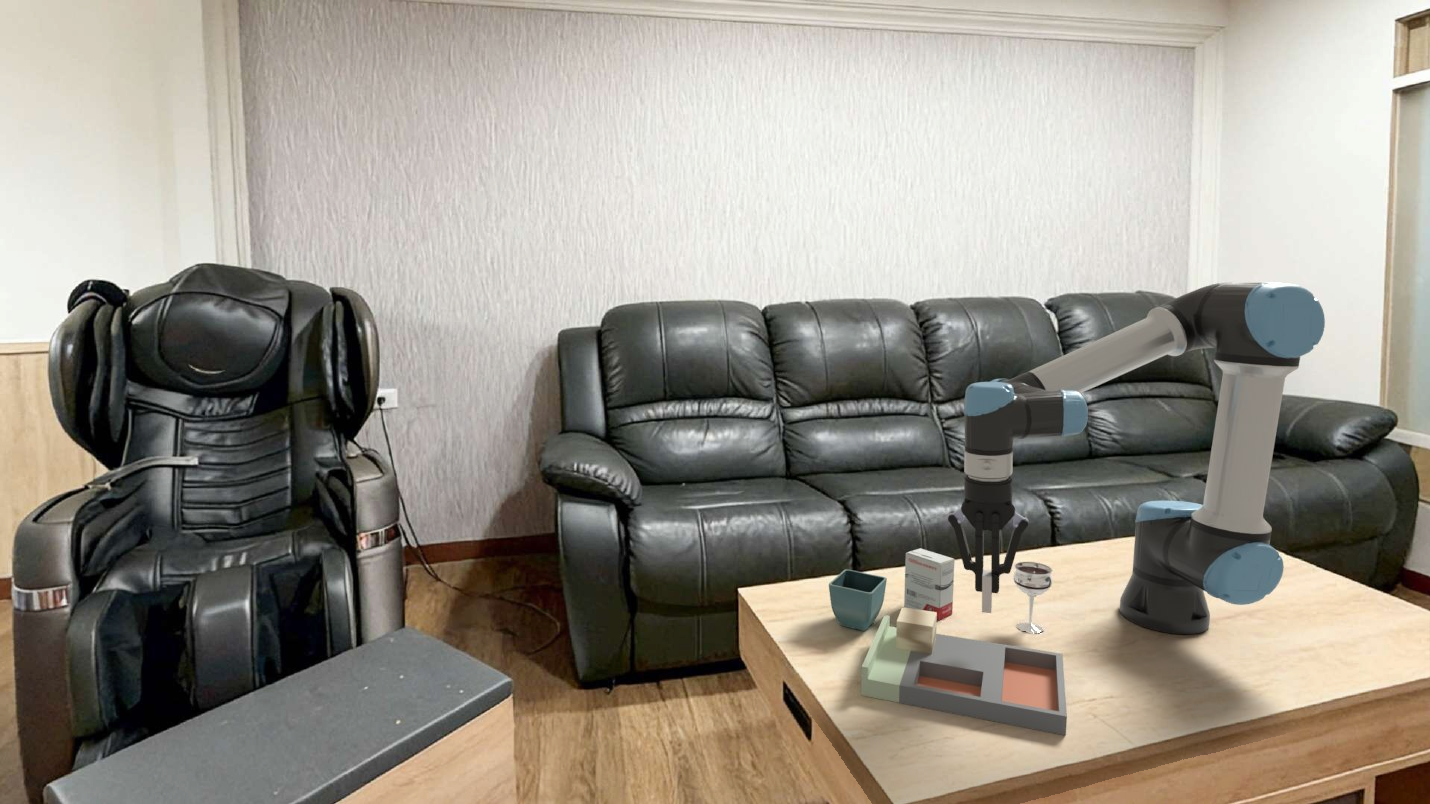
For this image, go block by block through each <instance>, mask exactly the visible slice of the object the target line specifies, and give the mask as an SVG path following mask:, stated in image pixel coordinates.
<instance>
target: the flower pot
mask: <svg viewBox="0 0 1430 804" xmlns="http://www.w3.org/2000/svg"><path fill="white" fill-rule="evenodd" d="M887 579H888V578H887V577H886V576H881V575H877V574H876V575H875V574H871V573H867V572H865V573H864V572H861V571H858V570H852V569H844V570H843V571H841V572H840V573H839V574H838V575H837V576H836V577H835V578H834V579H833V580H831V581H830V582H829V583H828V589H829V590H828V591H829V597H830V599H829V600H830V605H831V609H832V613H833V615H834V617H835V619H836V620H837V622H838V624H840V626H842V627H846V628H850V629H854V630H859V631H862V632H863V631H865V632H866V631H867V630H868V629H869V627H870V626H871V625H872V624H873V623H874V621H875V620H876V619H877V617H878V616H879V614H880V612H881V609H882V607H883V604H884V600H885V594H886V587H887Z"/></svg>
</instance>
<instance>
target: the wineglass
mask: <svg viewBox="0 0 1430 804" xmlns="http://www.w3.org/2000/svg"><path fill="white" fill-rule="evenodd" d="M1013 567H1014V569H1015V571H1014V573H1013V581H1014V584H1015V586H1016V587H1017V588H1018V590H1020V592H1022V593H1024V594H1026V595H1027V597H1028V598H1029V603H1028V604H1029V607H1028V608H1029V610H1028V611H1029V614H1028V621H1022V623H1021V622H1018V623H1019V624H1018V623H1017V624H1016V625H1015V628H1016V629H1017V628H1019V629H1020V630H1019V629H1018V630H1019V631H1020V632H1022V631H1026V632H1029V633H1030V635H1031V634H1032V635H1039V634H1038V633H1040V632H1041V631H1044V632H1045V629H1044V630H1043V629H1042V628H1044V627H1043V626H1042V627H1041V625H1040V626H1039V623H1038V624H1037V623H1034V622H1032V620H1033V611H1034V600H1035V598H1036V597H1037V596H1042V595H1044V594H1045V593H1046V592H1048V591H1049V590H1050V588H1051V587H1052V584H1053V578H1052V573H1053V569H1052V567H1050V565H1046V564H1043V563H1040V562H1035V561H1020V562H1017V563H1015V564H1014V566H1013ZM1016 626H1017V627H1016ZM1029 633H1028V634H1029ZM1035 633H1037V634H1035ZM1040 634H1041V633H1040Z"/></svg>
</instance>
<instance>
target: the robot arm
mask: <svg viewBox="0 0 1430 804" xmlns="http://www.w3.org/2000/svg"><path fill="white" fill-rule="evenodd" d="M1325 323H1326V320H1325V313H1324V310H1323V306H1322V305H1321V303H1320V301H1319V300H1318V299H1317V298H1315V296H1314V294H1313V293H1312V292H1311V291H1309V290H1308V289H1306V288H1305V287H1303V286H1301V285H1298V284H1292V283H1283V282H1277V281H1269V282H1268V281H1267V282H1266V281H1265V282H1218V283H1214V284H1210V285H1205V286H1203V287H1200V288H1198V289H1195V290H1193V291H1190V292H1187V293H1185V294H1182V295H1181V296H1180V295H1179V297H1176V298H1173V299H1172V300H1170V301H1169V300H1168V301H1167V302H1165V303H1163V304H1161V305H1159V306H1156V307H1154V308H1152V309H1150V310H1149V312H1148V313H1147V315H1146V317H1145V318H1143V319H1142V320H1141V319H1140V320H1138V321H1137V322H1134V323H1132V324H1130V325H1128V326H1125V327H1123V328H1121V329H1119V330H1117V331H1115V332H1112V333H1110V334H1108V335H1106V336H1104V337H1102V338H1099V339H1097V340H1095V341H1092V342H1091V343H1088V344H1086V345H1083V346H1082V347H1080V348H1078V349H1075V350H1073V351H1071V352H1068V353H1066V354H1064V355H1061V356H1060V357H1057V358H1056V359H1055V358H1054V359H1053V360H1051V361H1048V362H1047V363H1044V364H1042V365H1040V366H1037V367H1035V368H1033V369H1031V370H1029V371H1027V372H1024V373H1021V374H1018V375H1017V376H1014V377H1013V378H995V379H992V380H990V381H979V382H974V383H971V384H969V385H968V386H967V387H966V389H965V395H964V405H963V408H964V409H963V415H964V416H963V418H964V419H963V421H964V452H963V453H964V459H963V460H964V461H963V462H964V463H963V466H964V467H963V468H964V469H963V470H964V471H963V472H964V473H965V474H966V475H965V477H964V478H963V479H964V482H963V487H964V488H963V490H964V491H963V496H964V497H963V498H964V499H963V502H962V503H961V506H960V508H959V509H957V510H955V511H953V510H952V511H950V512H949V514H948V517H947V520H948V522H949V523H950V525H951V527H952V528H953V530H954V534H955V538H956V541H957V546H958V550H959V553H960V557H961V560H962V565H963V569H965V570H966V571H970V572H973V573H974V575H975V577H974V582H975V583H974V589H975V591H976V592H979V593H980V592H981V612H982V613H987V614H992V610H993V594H999V591H1000V576H1001V575H1004V574H1007V575H1008V574H1011V570H1012V569H1013V568H1012V567H1013V564H1014V561H1015V557H1016V553H1017V551H1018V547H1019V544H1020V540H1021V536H1022V534H1023V533H1024V532H1025V530H1026V529H1027V528H1028V527H1029V517H1028V516H1026V515H1021V514H1020V513H1018V512H1017V511H1016V507H1015V506H1014V503H1013V479H1012V478H1011V476H1012V474H1013V461H1014V460H1013V459H1014V458H1013V456H1014V452H1013V451H1014V440H1024V439H1037V438H1038V439H1039V438H1040V439H1041V438H1054V437H1055V438H1057V437H1060V438H1064V437H1067V436H1073V435H1079V434H1080V433H1082V432H1083V431H1084V430H1085V428H1087V427H1086V426H1087V424H1088V419H1089V416H1088V415H1089V409H1088V405H1087V400H1086V399H1085V397H1084V396H1083V395H1082V393H1084V392H1087V391H1088V390H1089V391H1090V390H1091V389H1093V388H1095V387H1098V386H1100V385H1102V384H1105V383H1106V382H1109V381H1112V380H1113V379H1116V378H1118V377H1120V376H1122V375H1125V374H1127V373H1129V372H1131V371H1133V370H1135V369H1138V368H1140V367H1142V366H1145V365H1147V364H1149V363H1151V362H1153V361H1155V360H1158V359H1161V358H1162V357H1164V356H1167V355H1168V356H1171V357H1178V356H1181V355H1183V354H1184V353H1185V354H1186V353H1188V352H1190V351H1194V350H1200V349H1215V352H1214V359H1213V361H1214V362H1213V363H1215V364H1216V365H1217V366H1218V368H1219V369H1220V370H1221V372H1222V377H1221V383H1220V384H1221V385H1220V389H1219V396H1218V403H1217V410H1216V418H1215V423H1214V430H1213V436H1212V445H1211V450H1210V458H1209V463H1208V465H1209V466H1208V472H1207V476H1206V478H1207V479H1206V484H1205V491H1204V495H1203V496H1204V497H1203V504H1200V503H1198V502H1197V503H1196V502H1192V501H1191V502H1189V501H1181V500H1151V501H1146V502H1143V503H1142V504H1140V505H1139V506H1138V508H1137V513H1136V517H1135V521H1134V523H1135V529H1134V530H1135V531H1134V548H1133V559H1132V572H1131V576H1130V577H1129V580H1128V581H1127V584H1126V587H1125V588H1124V589H1123V592H1122V594H1121V596H1120V600H1119V612H1120V613H1121V616H1123V618H1126V619H1127V620H1128V621H1130V622H1132V623H1134V624H1136V625H1138V626H1142V627H1143V628H1147V629H1150V630H1154V631H1158V632H1162V633H1167V634H1168V633H1169V634H1176V635H1177V634H1178V635H1193V634H1199V633H1203V632H1206V631H1207V630H1208V629H1209V628H1210V620H1211V613H1210V610H1209V606H1208V603H1207V599H1206V596H1205V592H1206V593H1207V594H1208V595H1209V596H1211V597H1213V598H1216V599H1219V600H1222V601H1224V602H1226V603H1228V604H1231V605H1237V606H1244V605H1245V606H1246V605H1250V604H1254V603H1258V602H1259V601H1262V600H1263V599H1264V598H1265V597H1266V596H1268V595H1270V594H1271V593H1272V592H1273V591H1274V590H1276V588H1277V587H1278V586H1279V583H1280V581H1281V579H1282V577H1283V574H1284V570H1285V569H1284V568H1285V567H1284V561H1283V558H1282V556H1281V555H1280V553H1279V551H1278V550H1276V548H1274V547H1273V546H1272V545H1270V542H1271V536H1272V532H1273V530H1272V528H1273V527H1272V526H1271V525H1270V524H1269V522H1268V521H1266V520H1265V518H1264V510H1265V504H1266V498H1267V491H1268V486H1269V481H1270V480H1269V479H1270V474H1271V467H1272V463H1273V455H1274V449H1275V444H1276V436H1277V429H1278V424H1279V419H1280V412H1281V405H1282V399H1283V393H1284V387H1285V381H1286V377H1287V376H1288V375H1290V374H1291V373H1293V372H1294V371H1296V370H1298V369H1299V368H1300V361H1301V357H1302V356H1305V355H1306V354H1308V353H1310V352H1311V351H1313V350H1314V347H1315V346H1316V345H1317V346H1318V345H1319V343H1320V341H1321V339H1322V337H1323V335H1324V331H1325V328H1326V327H1325V326H1326V325H1325ZM964 517H965V518H966V520H967V521H968V522H969V523H970V526H972V527H973V529H975V530H974V532H975V534H974V535H975V536H974V537H975V541H974V542H975V543H974V545H975V546H974V552H975V554H974V556H975V557H974V560H975V561H974V560H973V559H972V554H971V551H970V548H969V547H970V546H969V543H968V540H967V535H966V532H965V528H964V525H963V523H964ZM1011 520H1012V526H1013V530H1012V533H1011V537H1010V540H1009V544H1008V547H1007V550H1006V553H1005V556H1004V561H1003V563H1000V561H1001V560H1000V559H1001V558H1000V557H1001V556H1000V555H1001V553H1000V552H1001V549H1000V547H1001V545H1000V544H1001V543H1000V541H1001V536H1000V535H1001V530H1003V529H1004V528H1005V526H1007V525H1008V523H1009V522H1010V521H1011ZM985 531H990V532H991V536H990V537H991V558H990V559H991V560H990V561H991V563H990V564H991V569H990V570H987V569H984V549H985V547H984V545H985V544H984V539H985V538H984V536H985V535H984V534H985V533H984V532H985Z"/></svg>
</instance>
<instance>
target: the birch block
mask: <svg viewBox="0 0 1430 804" xmlns="http://www.w3.org/2000/svg"><path fill="white" fill-rule="evenodd" d="M937 621H938V620H937V612H931V611H925V610H918V609H911V608H905V607H904V606H903V607H901V609H900V612H899V615H898V617H897V619H896V627H897V630H896V648H898V649H903V650H909V651H915V652H921V653H927V654H932V652H933V648H934V644H935V641H936V634H937V623H938V622H937Z"/></svg>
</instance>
